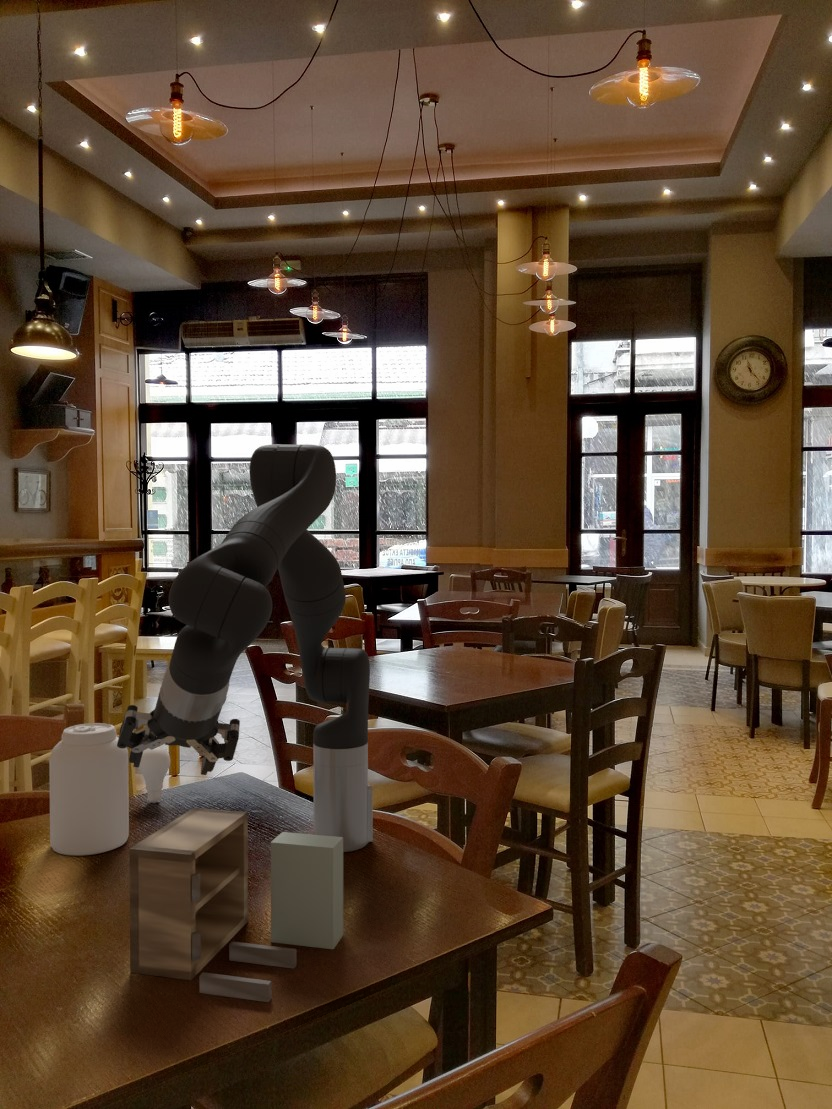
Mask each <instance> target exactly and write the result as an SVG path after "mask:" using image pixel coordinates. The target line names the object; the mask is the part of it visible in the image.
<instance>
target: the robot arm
mask: <svg viewBox="0 0 832 1109" xmlns="http://www.w3.org/2000/svg"><path fill="white" fill-rule="evenodd" d="M249 480H250V486H251V492H252V496H253V498H254V502H255V505H256V507H255V508H253V509H252V510H250V511H248V512H247V513H246V514H243V516H242V517H240V518H239V519H238V520H237V521H236V522H235V523H234V524H233V525H232V527H231V528H230V530H229V532H228V533H227V534H226V535H225V537H224V539H223V541H222V542H221V543H220V544H218V545H217V546H215V547H213V548H212V549H210V550H208V551H207V552H204V553H202V554H201V555H199V556H197V557H196V558H194V559H193V560H192V561H190V562H189V563H188V564H186V565H185V567H183V569H182V568H181V569H182V570H181V571H180V572H179V573H178V574H177V576H176V577H175V578H174V580H173V582H172V584H171V587H170V589H169V593H168V606H169V609H170V612H171V614H172V616H173V617H174V619H176V620H177V621H179V622H180V623H182V624H184V625H185V626H184V627H182V629H181V630H180V631H179V633H178V635H177V636H176V639H175V642H174V647H173V649H172V652H171V657H170V659H169V660H170V662H169V664H168V666H167V667H166V670H165V671H164V675H163V678H162V681H161V682H162V683H161V685H160V688H159V693H158V696H157V701H156V704H155V707H154V709H153V710H152V711H151V712H149V713H147V712H142V711H139V710H138V706H137V705H135V704H129V705H128V706H127V709H126V711H125V714H124V716H123V719H122V722H121V725H120V727H119V735H118V738H119V740H118V743H117V747H119V748H126V747H127V748H129V749H130V751H129V752H130V753H129V756H128V763H131V764H133V766H132V767H133V768H138V769H139V765H140V761H141V758H142V754H143V751H144V750H146V749H148V748H149V749H151V750H153V749H155V748H157V747H162V746H163V745H166V746H179V747H182V748H189V749H190V748H191V747H192V748H193V749H194V750H195V751H196V752H197V753H198V754H199V756H201V757H202V756H203V758H202V760H201V768H200V775H203V776H207V774H208V772H210V773H211V772H213V770H214V768H215V766H216V763H217V761H218V760H219V759H223V760H224V761H226V762H230V761H233V759H234V756H235V754H236V749H237V746H238V742H239V739H240V724H241V720H240V719H238V718H232V719H231V720H230V721H229V723H223V722H219V721H218V720H219V717H220V714H221V711H222V709H223V706H224V705H225V703H226V701H227V697H228V693H229V689H230V688H229V687H230V680H231V677H232V673H233V671H234V669H235V665H236V663H237V661H238V658H239V657H240V656H241V654H242V653H243V652H244V651H245V650H246V649H247V648H248V647H249V646H250V645H251V644H252V643H254V641H256V639H257V638H258V637H259V636H260V635H261V633H262V632H263V631H264V629H265V628H266V627H267V625H268V623H269V620H270V619H271V616H272V612H273V599H272V596H271V594H270V591H269V590H268V588H267V586H268V585H269V584H270V583H271V582H272V579H273V578H274V576H275V574H276V572H277V571H278V575H279V578H280V583H281V587H282V592H283V595H284V600H285V603H286V606H287V609H288V612H289V616H290V619H291V622H292V626H293V629H294V632H295V634H294V635H295V638H296V642H297V648H298V652H299V659H300V666H301V673H302V680H303V684H304V688H305V692H306V694H307V695H308V698H310V699H311V700H312V701H314V702H318V703H328V704H329V703H331V704H332V703H333V704H347V710H346V711H345V712H344V713H343V714H341V715H339V716H337V717H335V718H332V719H328V720H325V721H322V722H320V723H319V724H317V725H316V726H315V727H314V729H313V735H312V736H313V738H312V739H313V742H312V743H313V744H312V747H313V749H312V750H313V757H312V758H313V760H312V761H313V835H323V836H335V837H343V853H347V852H353V851H358V850H359V849H362V848H364V847H366V846H367V845H368V844H369V843H370V842H373V840H374V839H373V836H374V834H373V829H374V828H373V827H374V822H373V821H374V820H373V818H374V817H373V813H374V812H373V809H374V808H373V801H374V800H373V799H374V798H373V797H374V795H373V794H374V793H373V789H374V788H373V786H372V784H369V777H368V776H369V759H368V757H369V755H368V754H369V751H368V750H369V749H368V748H369V743H368V742H369V698H370V697H369V694H370V682H371V680H370V679H371V664H370V659H369V655H368V653H367V651H366V650H364V649H362V648H356V647H355V648H353V647H351V648H349V647H348V648H347V647H340V648H339V647H325V646H324V645H323V644H322V643H323V641H324V639H325V638H326V636H327V634H328V633H329V632H330V631H331V630H332V628H333V627H334V625H335V624H336V622H337V621H338V620H339V618H340V616H341V615H342V612H343V610H344V608H345V605H346V599H347V596H346V595H347V594H346V590H345V585H344V584H345V583H344V580H343V578H344V577H343V575H342V574H343V573H342V570H341V566H340V564H339V561H338V560H337V558H336V557H335V556H334V554H333V553H332V551H330V550H329V548H327V546H325V544H324V543H322V542H321V541H320V540H319V539H318V538H317V537H316V536H315V535H314V534H312V533H311V532H310V531H309V530H308V529H309V528H310V526H312V525H313V524H314V523H315V522H316V520H317V519H319V517H320V516H322V514H323V513H324V512H325V511H326V510H327V509H328V507H329V506H330V504H331V503H332V500H333V498H334V495H335V491H336V488H337V487H336V485H337V469H336V464H335V460H334V457H333V454H332V453H331V451H330V450H329V449H328V448H327V447H324V446H321V445H317V444H308V443H306V444H281V443H280V444H279V443H278V444H277V443H275V444H266V445H261V446H258V447H257V448H256V449H255V450H254V451H253V453H252V455H251V457H250V462H249ZM143 725H146V726H144V727H142V728H141V726H143ZM138 728H141V729H139V730H138ZM217 734H219V735H221V736H220V737H221V738H222V739H223V742H222V743H220V742H219V740H218V739H217V738H216V736H217Z"/></svg>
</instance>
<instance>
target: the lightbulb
mask: <svg viewBox="0 0 832 1109" xmlns="http://www.w3.org/2000/svg"><path fill="white" fill-rule="evenodd" d="M170 767H171V756H170V754H169V753H168V752H167V750H166V749H164V748H163V747H162V746H159V747H157V748H155V749H153V750H151V749H149V748H148V749H146V750H144V751H143V754H142V758H141V761H140V765H139V768H138V771H139V772H140V774H141V775H142V777H143V780H144V783H145V790H146V794H147V795H146V796H147V800H148V801H149V802H151V803H152V804H156V803H158V802H159V801H160V800H161V799H162V789H163V787H164V781H165V780H164V779H165V777H166V774H167V773H168V771H169V770H170Z"/></svg>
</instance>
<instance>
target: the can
mask: <svg viewBox="0 0 832 1109" xmlns="http://www.w3.org/2000/svg"><path fill="white" fill-rule="evenodd" d="M118 740H119V736H117V729H116V727H115V726H114V725H113V724H109V723H105V722H104V723H103V722H92V723H90V722H89V723H80V724H75V725H71V726H69V727H68V726H67V727H66V728H64V729H63V732H62V733H61V740H59V742H58V743H57V744H56V745H55V746H53V748H52V749H51V753H50V756H49V758H48V760H49V763H48V765H49V766H48V768H49V771H48V772H49V841H50V842H49V845H50V847H51V848H52V850H53V851H54V852H56V853H58V854H60V855H65V856H91V855H97V854H102V853H105V852H110V851H112V850H114V849H117V848H119V847H121V846H123V845H124V844H125V843H127V841H128V838H129V835H130V823H129V822H130V821H129V820H130V819H129V818H130V817H129V816H130V815H129V814H130V811H129V810H130V808H129V805H130V804H129V800H130V799H129V750H128V747H126V748H119V747H117V743H118Z"/></svg>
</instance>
